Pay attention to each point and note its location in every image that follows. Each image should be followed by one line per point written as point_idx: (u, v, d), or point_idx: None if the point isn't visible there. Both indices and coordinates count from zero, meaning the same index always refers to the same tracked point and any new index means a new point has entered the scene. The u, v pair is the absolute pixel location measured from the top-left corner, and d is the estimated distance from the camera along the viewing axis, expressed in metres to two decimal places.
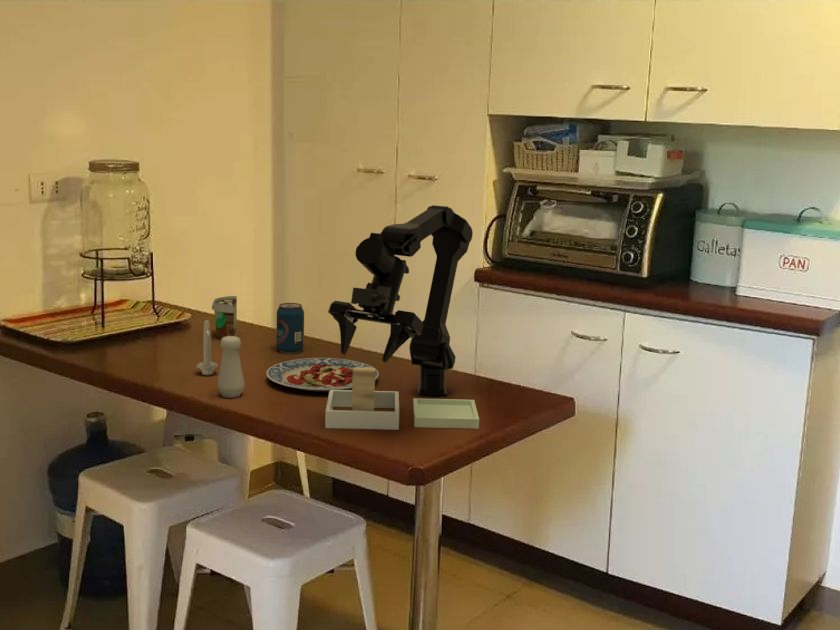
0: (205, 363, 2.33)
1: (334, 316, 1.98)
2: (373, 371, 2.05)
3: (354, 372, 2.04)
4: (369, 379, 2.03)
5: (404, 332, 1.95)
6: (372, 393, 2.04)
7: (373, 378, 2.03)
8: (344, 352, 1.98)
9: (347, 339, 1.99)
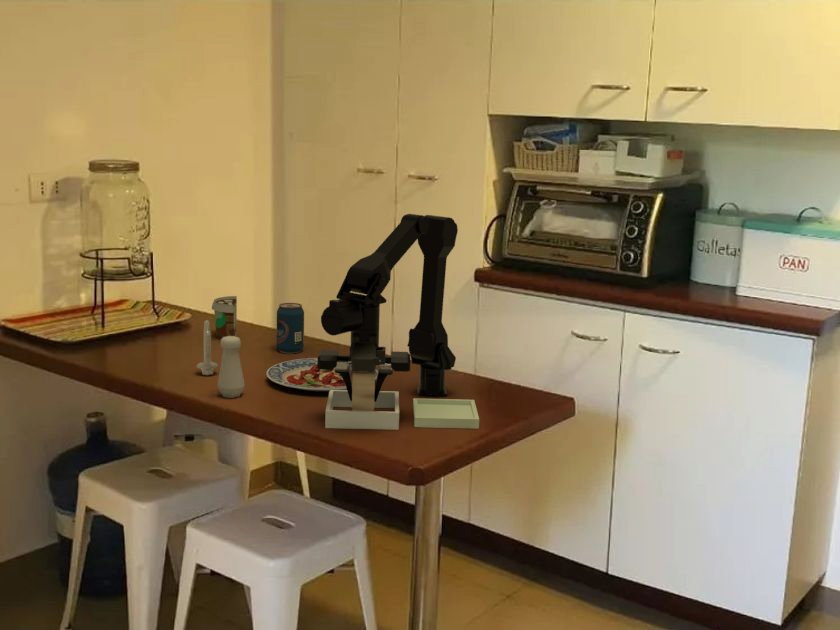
0: (205, 363, 2.33)
1: (337, 372, 2.02)
2: None
3: (354, 372, 2.04)
4: (369, 379, 2.03)
5: None
6: (372, 393, 2.04)
7: (373, 378, 2.03)
8: None
9: (351, 385, 2.06)
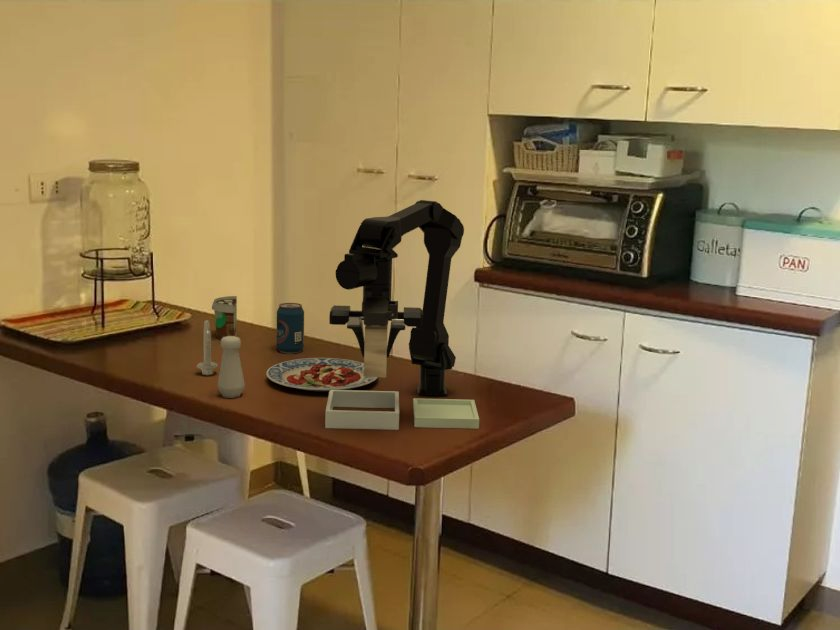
0: (205, 363, 2.33)
1: (350, 328, 2.00)
2: (385, 327, 2.03)
3: (366, 327, 2.02)
4: (381, 334, 2.01)
5: None
6: (384, 349, 2.02)
7: (385, 333, 2.01)
8: None
9: None
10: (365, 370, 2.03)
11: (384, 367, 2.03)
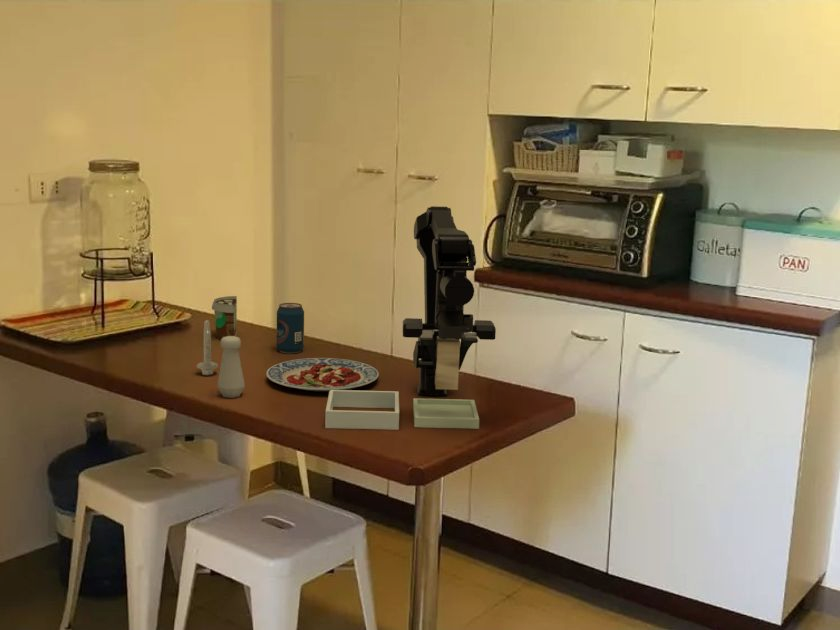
0: (205, 363, 2.33)
1: (423, 341, 2.02)
2: None
3: (439, 340, 2.04)
4: (454, 347, 2.03)
5: None
6: (457, 361, 2.04)
7: (458, 346, 2.03)
8: None
9: None
10: (437, 382, 2.05)
11: (456, 379, 2.05)
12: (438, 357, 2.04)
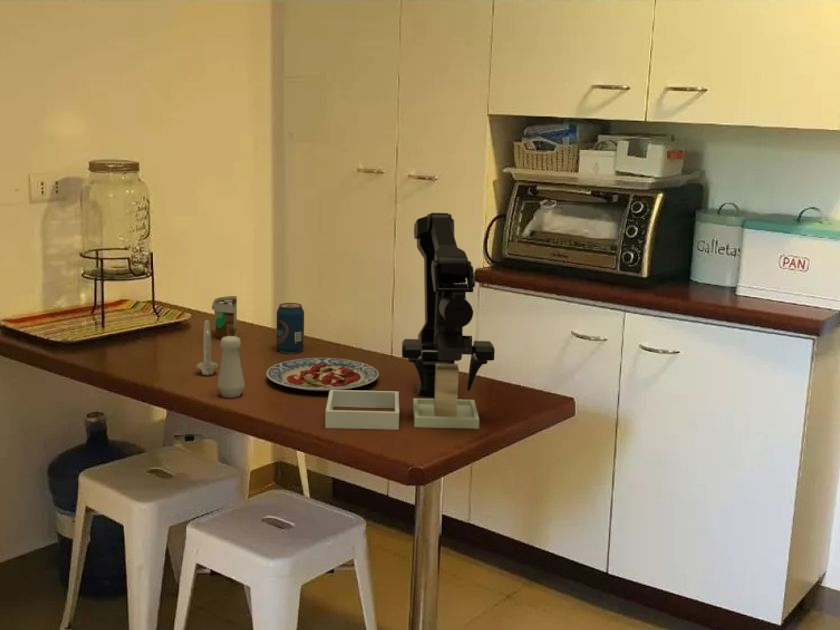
0: (205, 363, 2.33)
1: (411, 361, 2.03)
2: (456, 367, 2.06)
3: (438, 368, 2.05)
4: (453, 375, 2.05)
5: None
6: (456, 389, 2.05)
7: (457, 374, 2.05)
8: (424, 387, 2.07)
9: None
10: (436, 410, 2.06)
11: (455, 407, 2.06)
12: (437, 385, 2.05)
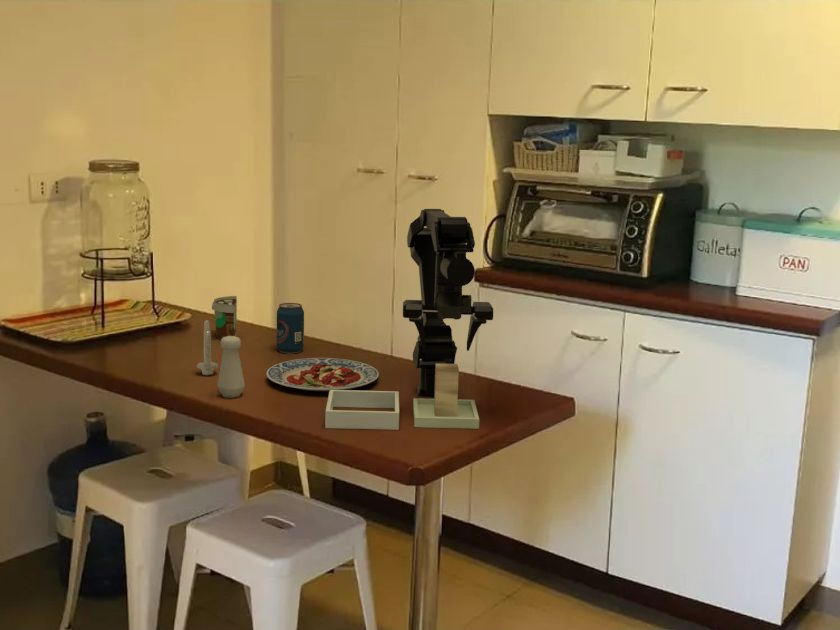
0: (205, 363, 2.33)
1: (412, 321, 2.07)
2: (456, 367, 2.06)
3: (438, 368, 2.05)
4: (453, 375, 2.05)
5: None
6: (456, 389, 2.05)
7: (457, 374, 2.05)
8: (425, 347, 2.12)
9: None
10: (436, 410, 2.06)
11: (455, 407, 2.06)
12: (437, 385, 2.05)
